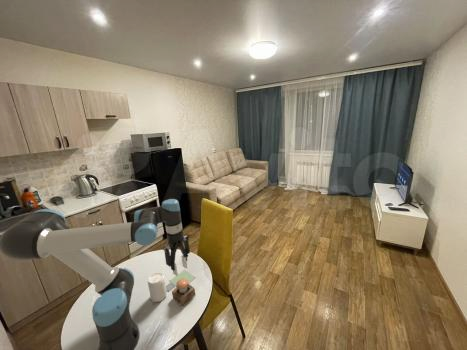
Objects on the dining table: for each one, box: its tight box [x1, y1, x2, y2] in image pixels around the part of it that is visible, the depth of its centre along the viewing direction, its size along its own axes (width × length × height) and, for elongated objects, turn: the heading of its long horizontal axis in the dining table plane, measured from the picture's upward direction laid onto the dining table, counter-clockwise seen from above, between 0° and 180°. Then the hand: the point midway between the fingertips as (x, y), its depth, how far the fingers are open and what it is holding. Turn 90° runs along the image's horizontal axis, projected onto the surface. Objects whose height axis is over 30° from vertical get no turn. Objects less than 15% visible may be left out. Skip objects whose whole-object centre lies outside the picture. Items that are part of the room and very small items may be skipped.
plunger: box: [175, 278, 188, 296], centre depth 102 cm, size 6×6×6 cm
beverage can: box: [147, 272, 168, 303], centre depth 103 cm, size 8×8×12 cm
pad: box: [169, 269, 197, 288], centre depth 115 cm, size 11×11×1 cm
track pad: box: [166, 282, 176, 293], centre depth 110 cm, size 4×4×1 cm
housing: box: [171, 283, 196, 307], centre depth 103 cm, size 8×8×4 cm
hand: (180, 270), depth 99 cm, fingers open, 5 cm apart
